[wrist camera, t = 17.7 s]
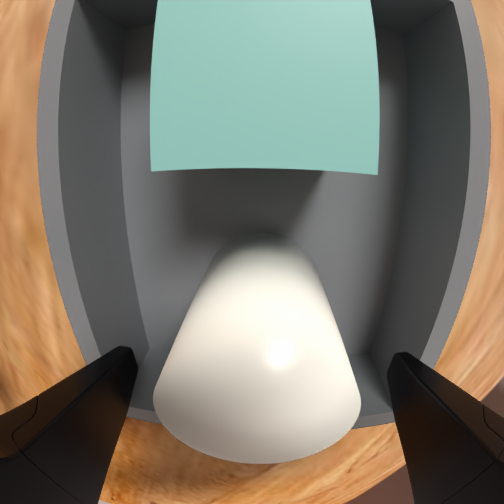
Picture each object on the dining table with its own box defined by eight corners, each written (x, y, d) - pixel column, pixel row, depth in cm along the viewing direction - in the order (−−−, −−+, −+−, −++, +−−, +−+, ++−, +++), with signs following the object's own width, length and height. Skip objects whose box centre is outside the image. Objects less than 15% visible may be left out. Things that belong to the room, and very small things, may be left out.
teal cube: (327, 45, 8) (367, -13, 4) (328, 162, 10) (377, 175, 6) (200, 43, 9) (160, -15, 4) (199, 160, 10) (151, 171, 6)
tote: (377, 356, 15) (404, 419, 10) (141, 350, 15) (110, 412, 10) (411, 28, 8) (468, -7, 4) (117, 23, 9) (60, -14, 4)
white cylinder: (311, 333, 13) (335, 460, 7) (208, 331, 13) (174, 455, 7) (323, 234, 11) (387, 343, 5) (201, 232, 12) (130, 336, 5)
